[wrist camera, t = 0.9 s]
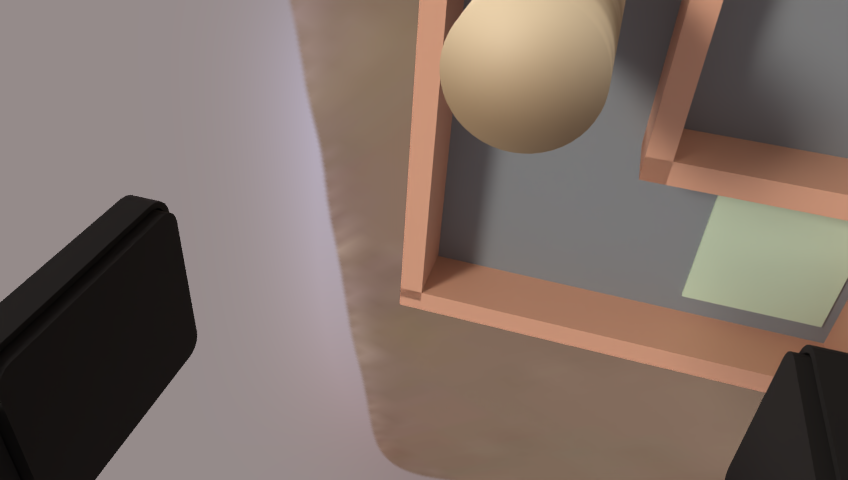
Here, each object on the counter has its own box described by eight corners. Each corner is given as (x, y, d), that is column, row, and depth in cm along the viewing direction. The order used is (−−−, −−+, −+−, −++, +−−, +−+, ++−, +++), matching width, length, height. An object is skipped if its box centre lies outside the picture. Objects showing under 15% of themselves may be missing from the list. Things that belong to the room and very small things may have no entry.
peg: (531, -115, 26) (446, -24, 16) (646, -100, 25) (629, 5, 15) (515, -1, 28) (433, 136, 18) (620, 15, 27) (591, 167, 18)
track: (462, -242, 25) (435, -238, 22) (1137, -177, 21) (1209, -162, 18) (419, 282, 38) (398, 327, 35) (823, 378, 34) (836, 436, 32)
